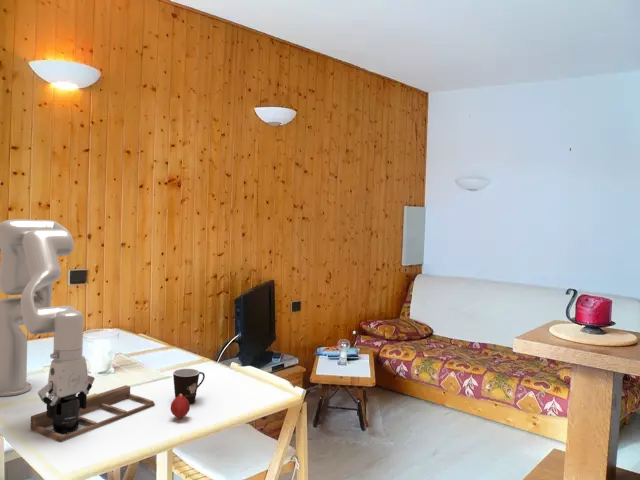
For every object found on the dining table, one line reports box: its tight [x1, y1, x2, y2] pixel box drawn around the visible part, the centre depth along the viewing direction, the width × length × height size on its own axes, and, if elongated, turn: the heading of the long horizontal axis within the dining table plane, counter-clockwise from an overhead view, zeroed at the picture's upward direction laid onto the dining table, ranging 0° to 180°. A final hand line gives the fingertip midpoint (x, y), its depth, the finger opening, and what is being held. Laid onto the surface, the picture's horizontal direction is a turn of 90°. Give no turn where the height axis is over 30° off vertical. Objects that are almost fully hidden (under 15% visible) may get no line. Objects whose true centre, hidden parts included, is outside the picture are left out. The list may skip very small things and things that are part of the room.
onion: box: [170, 394, 191, 420], centre depth 169 cm, size 6×6×8 cm
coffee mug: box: [172, 368, 206, 405], centre depth 184 cm, size 12×9×10 cm
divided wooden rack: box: [30, 384, 156, 443], centre depth 167 cm, size 14×34×5 cm, turn 151°
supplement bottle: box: [52, 393, 80, 435], centre depth 157 cm, size 7×7×12 cm
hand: (66, 412), depth 157 cm, fingers open, 9 cm apart
